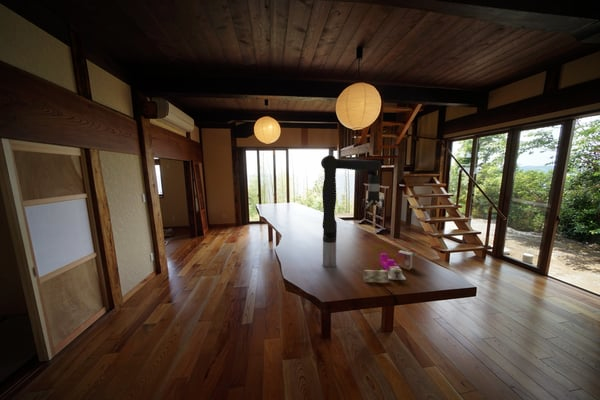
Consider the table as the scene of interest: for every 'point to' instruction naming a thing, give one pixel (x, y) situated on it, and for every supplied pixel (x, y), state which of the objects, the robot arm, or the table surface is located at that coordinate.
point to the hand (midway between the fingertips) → (373, 213)
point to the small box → (405, 259)
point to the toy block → (386, 261)
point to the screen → (376, 276)
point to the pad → (395, 279)
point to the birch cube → (395, 272)
